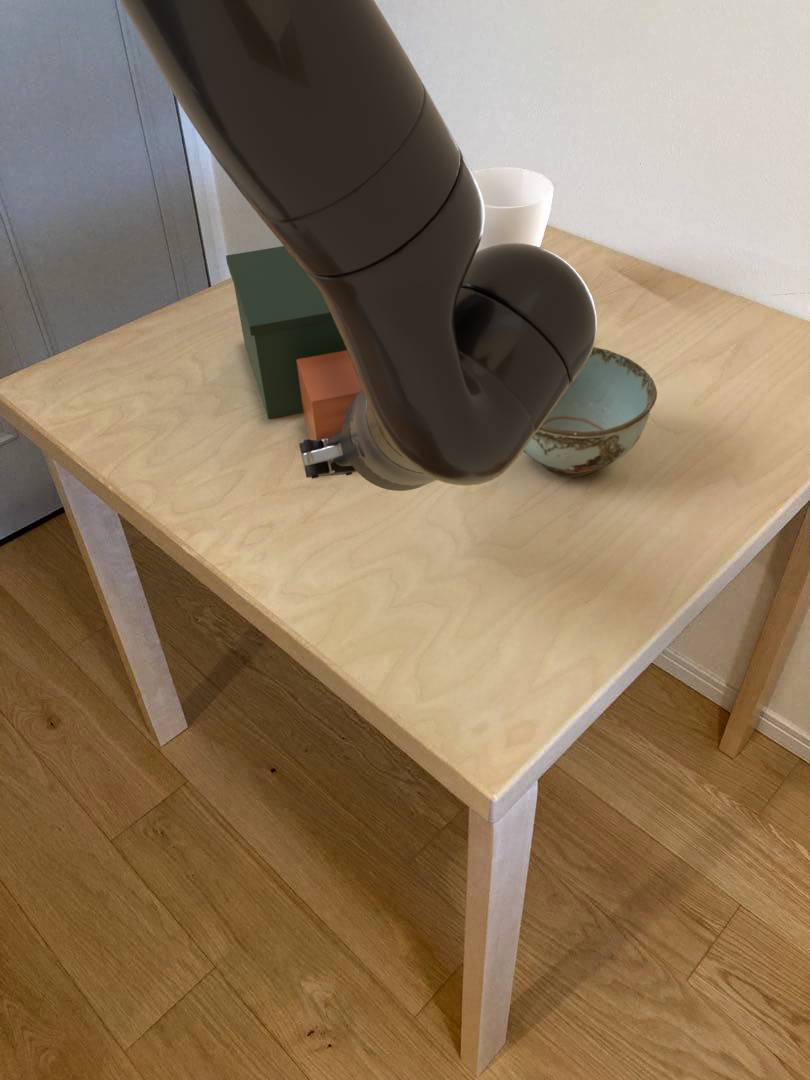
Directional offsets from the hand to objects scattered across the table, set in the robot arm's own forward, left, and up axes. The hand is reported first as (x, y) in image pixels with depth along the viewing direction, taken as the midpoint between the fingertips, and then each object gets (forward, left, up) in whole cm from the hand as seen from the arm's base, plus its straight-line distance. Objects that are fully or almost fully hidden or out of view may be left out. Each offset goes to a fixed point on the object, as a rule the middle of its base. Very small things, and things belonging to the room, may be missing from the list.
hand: (369, 458), depth 72 cm
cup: (+24, +33, -8) cm, 42 cm away
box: (+1, +26, -8) cm, 27 cm away
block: (+1, +13, -8) cm, 15 cm away
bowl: (+20, +4, -8) cm, 22 cm away
